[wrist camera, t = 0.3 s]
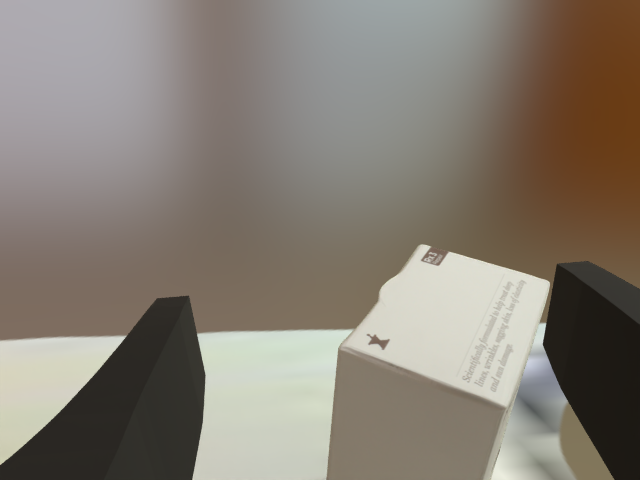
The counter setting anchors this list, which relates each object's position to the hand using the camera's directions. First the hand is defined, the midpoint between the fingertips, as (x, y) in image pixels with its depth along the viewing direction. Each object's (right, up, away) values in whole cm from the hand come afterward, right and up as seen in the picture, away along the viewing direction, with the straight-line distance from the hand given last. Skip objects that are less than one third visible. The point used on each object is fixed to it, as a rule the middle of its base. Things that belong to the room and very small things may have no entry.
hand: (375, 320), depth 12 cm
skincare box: (+3, -14, +18) cm, 23 cm away
